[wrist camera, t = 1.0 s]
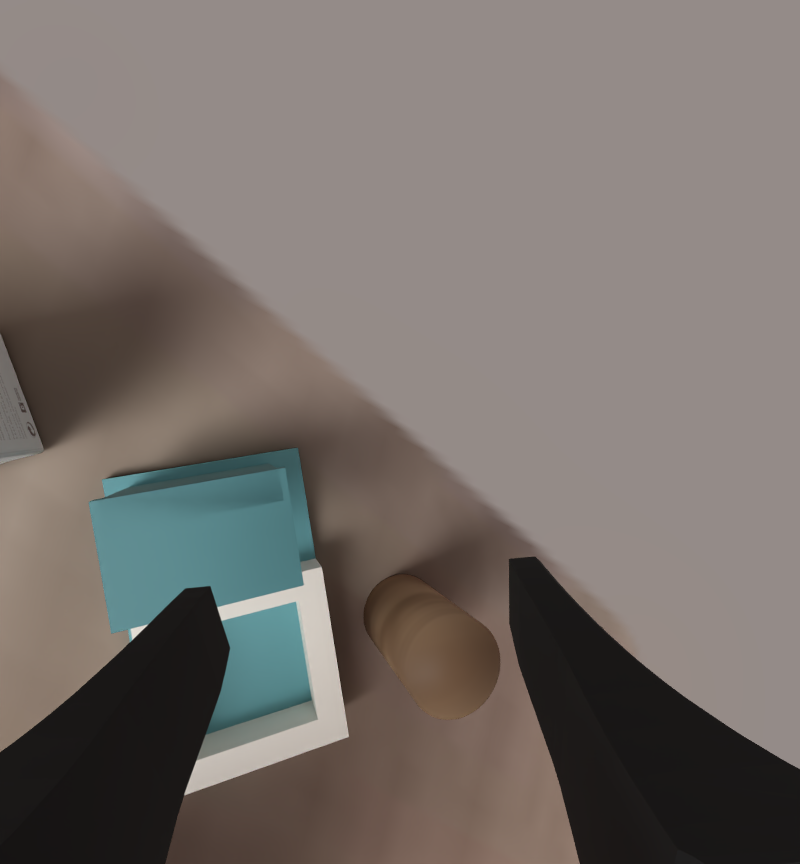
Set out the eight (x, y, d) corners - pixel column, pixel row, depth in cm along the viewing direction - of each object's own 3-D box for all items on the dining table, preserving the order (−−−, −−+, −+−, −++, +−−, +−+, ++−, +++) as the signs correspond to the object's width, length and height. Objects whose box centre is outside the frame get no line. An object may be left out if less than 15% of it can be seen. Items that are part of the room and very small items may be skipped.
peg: (440, 638, 27) (506, 700, 21) (369, 659, 26) (416, 734, 19) (429, 566, 27) (492, 605, 21) (357, 584, 26) (401, 633, 19)
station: (338, 710, 25) (370, 790, 20) (155, 772, 23) (129, 886, 17) (296, 447, 25) (315, 449, 19) (105, 478, 22) (60, 491, 17)
